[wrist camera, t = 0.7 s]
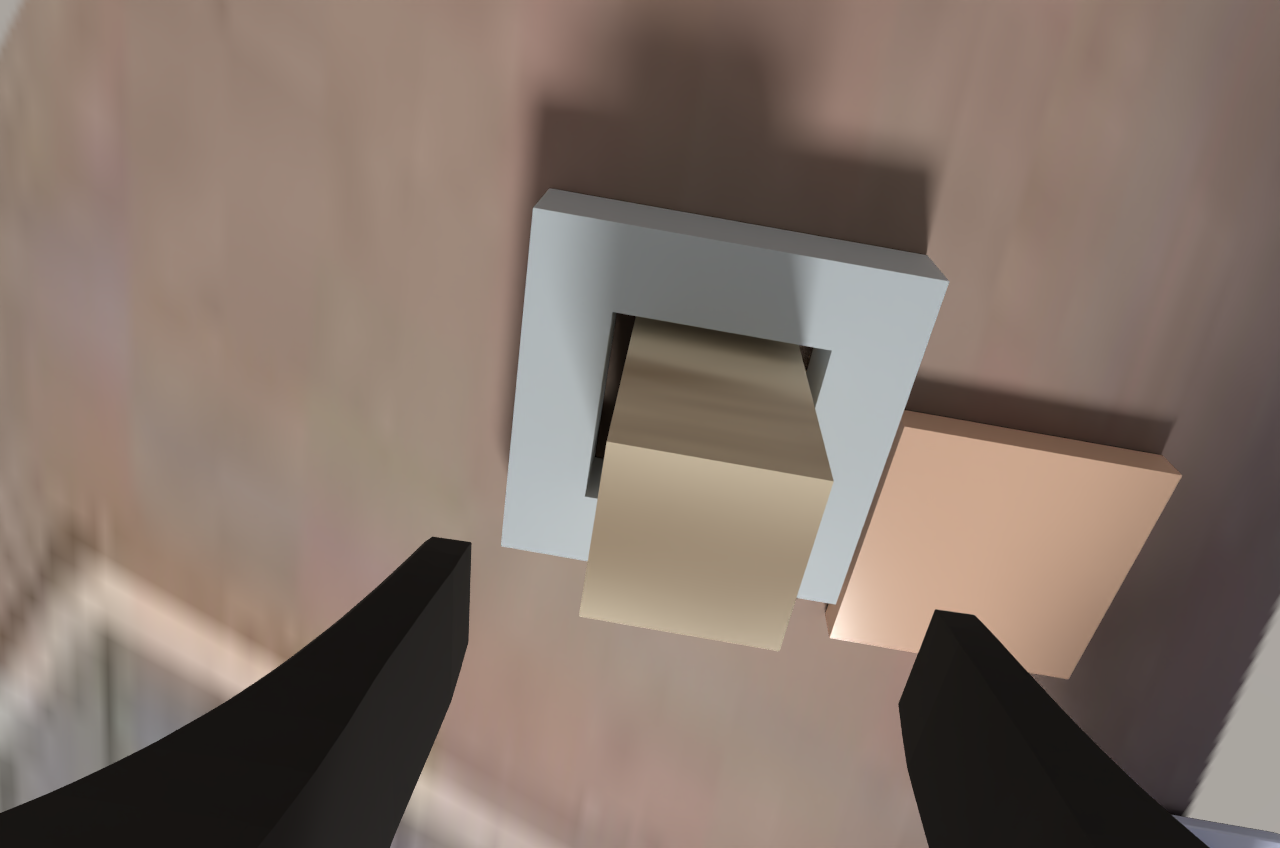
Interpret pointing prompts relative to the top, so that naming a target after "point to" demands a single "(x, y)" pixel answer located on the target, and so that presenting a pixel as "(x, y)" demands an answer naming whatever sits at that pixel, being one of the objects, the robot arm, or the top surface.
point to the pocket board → (719, 300)
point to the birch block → (707, 487)
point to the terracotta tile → (999, 538)
